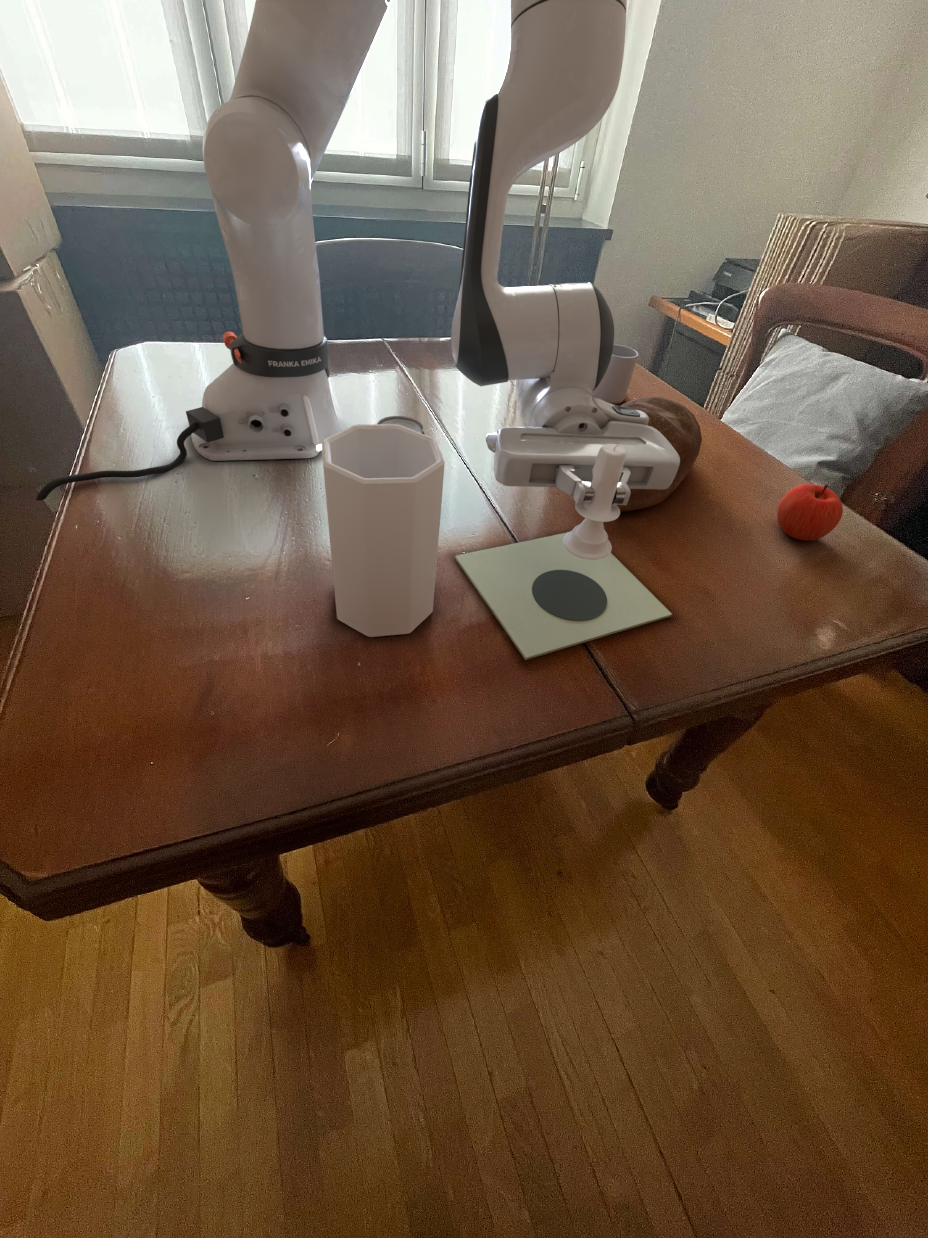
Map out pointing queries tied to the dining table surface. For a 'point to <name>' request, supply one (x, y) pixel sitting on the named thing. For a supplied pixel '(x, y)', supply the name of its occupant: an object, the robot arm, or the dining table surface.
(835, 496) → the apple
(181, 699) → the dining table surface
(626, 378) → the cup
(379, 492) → the cup
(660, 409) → the bread
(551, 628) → the mat
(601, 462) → the candle
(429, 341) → the dining table surface
